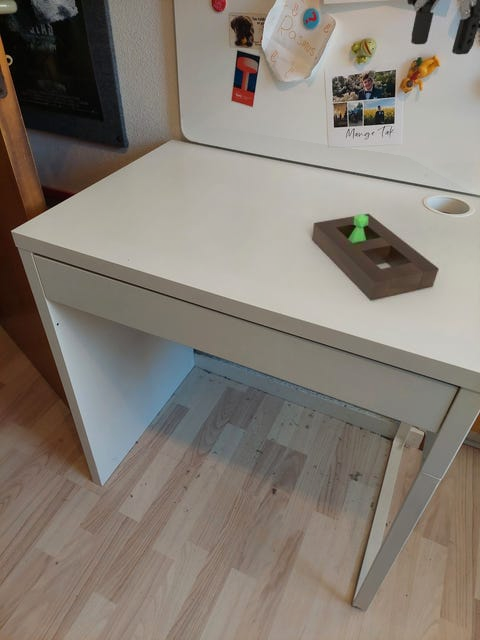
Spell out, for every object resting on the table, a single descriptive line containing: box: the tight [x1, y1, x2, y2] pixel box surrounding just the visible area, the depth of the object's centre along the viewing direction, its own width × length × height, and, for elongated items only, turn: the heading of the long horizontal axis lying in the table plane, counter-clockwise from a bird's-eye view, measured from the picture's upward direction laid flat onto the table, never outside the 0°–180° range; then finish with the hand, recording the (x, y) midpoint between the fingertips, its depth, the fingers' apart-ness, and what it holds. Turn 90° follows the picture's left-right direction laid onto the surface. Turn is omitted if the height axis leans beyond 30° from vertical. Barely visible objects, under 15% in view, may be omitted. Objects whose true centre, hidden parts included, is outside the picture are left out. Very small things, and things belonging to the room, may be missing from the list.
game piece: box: [348, 213, 368, 243], centre depth 69 cm, size 4×4×6 cm
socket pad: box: [311, 213, 439, 302], centre depth 67 cm, size 10×18×3 cm, turn 20°
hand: (438, 48), depth 61 cm, fingers open, 8 cm apart
